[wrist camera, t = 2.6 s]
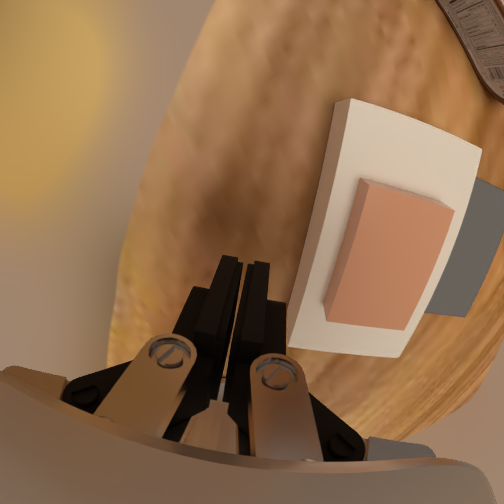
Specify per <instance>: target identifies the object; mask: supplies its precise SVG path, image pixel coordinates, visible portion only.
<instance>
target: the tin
mask: <svg viewBox="0 0 504 504" xmlns="http://www.w3.org/2000/svg"><path fill="white" fill-rule="evenodd" d="M436 1H437V3H438V4H439V6H440V7H441V9H442V10H443V12H444V14H445V15H446V17H447V19H448V20H449V22H450V24H451V25H452V27H453V29H454V31H455V32H456V34H457V36H458V38H459V40H460V42H461V43H462V45H463V47H464V49H465V51H466V53H467V55H468V57H469V59H470V62H471V64H472V66H473V68H474V70H475V72H476V73H477V75H478V77H479V78H480V80H481V82H482V83H483V84H484V86H485V87H486V89H487V90H488V91H489V92H490V93H491V94H492V95H493V96H494V97H495V98H496V99H497V100H498V101H499V102H500V103H502V104H503V105H504V0H436Z"/></svg>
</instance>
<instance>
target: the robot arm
mask: <svg viewBox="0 0 504 504" xmlns="http://www.w3.org/2000/svg"><path fill="white" fill-rule="evenodd" d="M242 268H243V262H238V257H232V256H227V255H222V258H221V260H220V263H219V265H218V268H217V271H216V273H215V276H214V278H213V281H212V284H211V286H210V289H206V288H201V287H196V286H194V287H193V288H192V290H191V292H190V294H189V297H188V299H187V301H186V303H185V305H184V308H183V310H182V312H181V314H180V316H179V319H178V321H177V323H176V325H175V328H174V330H173V332H172V334H161V335H157V336H155V337H153V338H151V339H150V340H149V341H148V342H147V343H146V344H145V345H144V346H143V348H142V349H141V350H140V352H139V353H138V354H137V356H136V357H135V358H134V360H132V361H129V362H126V363H123V364H120V365H117V366H114V367H110V368H107V369H105V370H101V371H98V372H95V373H92V374H88V375H85V376H82V377H79V378H76V379H74V380H72V381H67V379H66V377H63V376H58V375H53V374H49V373H44V372H40V371H36V370H32V369H28V368H24V367H20V366H10V367H7V368H5V369H4V370H3V371H2V372H1V371H0V504H497V503H496V500H495V496H494V493H493V490H492V487H491V485H490V483H489V481H488V479H487V477H486V476H485V474H484V473H483V472H482V471H481V470H480V469H479V468H477V467H475V466H473V465H471V464H469V463H466V462H462V461H458V460H453V459H447V458H436V455H435V454H434V452H433V451H432V450H431V449H430V448H429V447H428V446H425V445H421V444H414V443H407V442H400V441H393V440H387V439H381V438H376V437H369V438H368V439H364V438H362V437H361V436H360V435H359V434H358V433H357V432H356V431H355V430H354V429H352V428H351V427H350V426H349V425H347V424H346V423H345V422H344V421H342V420H341V419H340V418H339V417H338V416H336V415H335V414H334V413H333V412H332V411H330V410H329V409H328V408H327V407H326V406H324V405H323V404H322V403H321V402H320V401H318V400H317V399H316V398H315V397H314V396H313V395H311V394H310V393H309V392H308V388H307V383H306V379H305V375H304V372H303V370H302V367H301V366H300V365H299V364H298V363H297V362H296V361H295V360H293V359H292V358H290V357H288V356H286V303H284V302H278V301H272V300H267V294H268V282H269V269H270V263H265V262H260V261H255V262H254V264H248V266H247V271H246V275H245V280H244V285H243V289H242V294H241V299H240V304H239V308H238V313H237V318H236V322H235V327H234V332H233V337H232V343H231V349H230V355H229V361H228V368H227V374H226V378H222V375H223V370H224V366H225V361H226V357H227V352H228V347H229V343H230V338H231V334H232V329H233V324H234V318H235V311H236V305H237V299H238V292H239V286H240V280H241V274H242ZM186 436H187V437H186ZM185 438H186V441H185V444H183V442H184V440H185Z"/></svg>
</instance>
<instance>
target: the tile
mask: <svg viewBox="0 0 504 504" xmlns="http://www.w3.org/2000/svg"><path fill="white" fill-rule="evenodd" d="M454 212H455V210H453V209H452V208H450V207H449V206H447V205H446V204H444V203H443V202H441V201H439V200H436V199H433V198H429V197H426V196H423V195H420V194H417V193H414V192H410V191H407V190H404V189H400V188H397V187H393V186H390V185H386V184H383V183H379V182H376V181H372V180H368V179H364V178H360V179H359V183H358V187H357V191H356V195H355V199H354V203H353V207H352V210H351V214H350V218H349V221H348V225H347V228H346V232H345V235H344V239H343V242H342V246H341V249H340V252H339V256H338V259H337V262H336V265H335V268H334V272H333V275H332V278H331V281H330V284H329V287H328V290H327V293H326V296H325V299H324V302H323V307H324V312H325V318H326V321H328V322H335V323H342V324H350V325H358V326H366V327H375V328H384V329H393V330H403V331H404V330H405V328H406V326H407V324H408V322H409V320H410V318H411V316H412V314H413V312H414V310H415V308H416V306H417V304H418V302H419V300H420V298H421V296H422V294H423V292H424V289H425V287H426V285H427V283H428V280H429V278H430V276H431V274H432V271H433V269H434V266H435V264H436V262H437V259H438V257H439V254H440V252H441V249H442V246H443V244H444V241H445V238H446V236H447V233H448V230H449V227H450V224H451V221H452V218H453V215H454Z"/></svg>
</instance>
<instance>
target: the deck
mask: <svg viewBox="0 0 504 504" xmlns="http://www.w3.org/2000/svg"><path fill="white" fill-rule="evenodd" d="M481 153H482V149H480V148H479V147H477V146H475V145H473V144H471V143H469V142H467V141H465V140H462V139H460V138H458V137H456V136H454V135H452V134H450V133H447V132H445V131H443V130H440V129H438V128H436V127H433V126H431V125H429V124H426V123H424V122H421V121H419V120H416V119H413V118H411V117H408V116H405V115H403V114H400V113H397V112H394V111H391V110H388V109H385V108H382V107H379V106H376V105H373V104H370V103H366V102H363V101H360V100H356V99H352V98H350V99H346V100H343V101H339V102H336V103H335V106H334V112H333V117H332V122H331V127H330V132H329V138H328V142H327V147H326V152H325V157H324V162H323V166H322V171H321V176H320V180H319V185H318V189H317V194H316V198H315V202H314V207H313V211H312V215H311V220H310V224H309V228H308V232H307V236H306V240H305V244H304V248H303V252H302V256H301V260H300V264H299V268H298V271H297V275H296V279H295V283H294V287H293V290H292V294H291V298H290V301H289V305H288V308H287V321H288V347H294V348H302V349H309V350H317V351H326V352H334V353H344V354H354V355H365V356H378V357H393V358H399V356H400V355H401V353H402V351H403V350H404V348H405V346H406V345H407V343H408V341H409V339H410V338H411V336H412V334H413V332H414V330H415V328H416V327H417V325H418V323H419V321H420V319H421V317H422V315H423V313H424V311H425V309H426V307H427V305H428V303H429V301H430V299H431V297H432V295H433V293H434V291H435V289H436V287H437V284H438V282H439V280H440V278H441V275H442V273H443V271H444V269H445V266H446V264H447V261H448V259H449V256H450V254H451V251H452V249H453V246H454V244H455V241H456V238H457V236H458V233H459V230H460V227H461V224H462V221H463V218H464V215H465V212H466V209H467V206H468V203H469V199H470V196H471V193H472V189H473V185H474V182H475V178H476V174H477V170H478V166H479V162H480V157H481ZM360 178H364V179H368V180H372V181H376V182H379V183H383V184H386V185H390V186H393V187H397V188H400V189H404V190H407V191H410V192H414V193H417V194H420V195H423V196H426V197H429V198H433V199H436V200H439V201H441V202H443V203H444V204H446V205H447V206H449V207H450V208H452V209H453V210H455V212H454V215H453V218H452V221H451V224H450V227H449V230H448V233H447V236H446V238H445V241H444V244H443V246H442V249H441V252H440V254H439V257H438V259H437V262H436V264H435V266H434V269H433V271H432V274H431V276H430V278H429V280H428V283H427V285H426V287H425V289H424V292H423V294H422V296H421V298H420V300H419V302H418V304H417V306H416V308H415V310H414V312H413V314H412V316H411V318H410V320H409V322H408V324H407V326H406V328H405V330H404V331H403V330H393V329H384V328H375V327H366V326H358V325H350V324H342V323H335V322H328V321H326V318H325V312H324V307H323V302H324V299H325V296H326V293H327V290H328V287H329V284H330V281H331V278H332V275H333V272H334V268H335V265H336V262H337V259H338V256H339V252H340V249H341V246H342V242H343V239H344V235H345V232H346V228H347V225H348V221H349V218H350V214H351V210H352V207H353V203H354V199H355V195H356V191H357V187H358V183H359V179H360Z"/></svg>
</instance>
